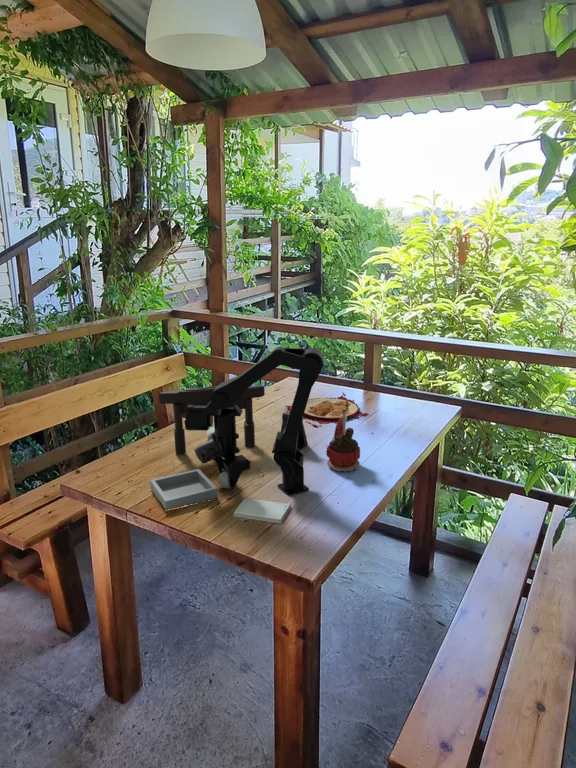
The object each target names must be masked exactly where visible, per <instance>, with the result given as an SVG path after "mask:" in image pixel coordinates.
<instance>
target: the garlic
mask: <svg viewBox="0 0 576 768" xmlns="http://www.w3.org/2000/svg"><path fill="white" fill-rule="evenodd" d="M222 470H223V469H222ZM217 480H218V484H219V485H220V487H221V488H224V489H229V490H230V489H231V488H230V484H229V479H228V474H227V472H225V471H224V472H222V473H221V474H220V473H219V475H218V478H217ZM237 483H238V482H237ZM237 483H236V485H237Z"/></svg>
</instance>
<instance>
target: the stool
mask: <svg viewBox="0 0 576 768" xmlns="http://www.w3.org/2000/svg"><path fill="white" fill-rule="evenodd" d="M217 386H218V385H216V386H203V387H192V388H191V387H190V388H186V389H177V390H168V391H163V392H162V391H161V392H159V393H158V402H159V404H162V405H164V404H165V405H171V404H172V408H173V409H172V410H173V417H174V429H173V435H174V448H175V455H177V456H184V455H186V454H187V448H186V446H187V445H186V434H185V428H184V423H183V422H184V420H183V414H185V415H186V412H187V409H186V408H187V406H188V405H195V406H207V405H208V403H209V402H210V401H211V394H212V393H213V391H214V390H215V389H216V387H217ZM264 396H265V386H264V385H251V386H250V387H248V388H247V389H246V390H245V391H244V392H243V393H242V394H241V395H240V396H239V397H238V398H237V399H236V401H235V402H234V403H233V404H232V405H231V406H230V407H229V408H233V407H234V406H235V405H237V406H238V407H239V408H240V409H242V410H244V421H243V429H244V430H243V432H244V434H243V435H244V446H245V448H247V449H254V448H255V447H256V439H255V437H256V436H255V432H256V431H255V421H254V415H253V414H254V413H253V399H256V398H263V397H264ZM219 410H222V409H219ZM205 433H206V438H207V441H208V440H211V435H212V433H215V429H214V425H212V427H209V429H208V431H205Z"/></svg>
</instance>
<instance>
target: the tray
mask: <svg viewBox="0 0 576 768" xmlns="http://www.w3.org/2000/svg"><path fill="white" fill-rule="evenodd" d="M149 484H150V490H151V489H152V490H153V492H154V493H155V495H156V496H157V498H158V499H159V501H160V502H161V504H162V505H163V507H164V508H165V509H166V510H168V509H172V508H177V507H181V506H184V505H190V504H195V503H199V504H201V503H200V502H203V501H207V502H209V501H208V500H211V501H214V500H213V499H215V500H218V499H219V497H218V496H219V495H218V493H219V491H218V487H216V485H214V483H213V482H212V481H211V480H210V478H208V477H207V476H206V474H204V473H203V472H202V470H201V469H200V468H196V469H193V470H188V471H184V472H180V473H179V472H178V473H175V474H171V475H167V476H161V477H158V478H153V479H150V480H149ZM153 492H152V493H153ZM155 495H154V496H155ZM157 498H156V499H157ZM158 499H157V500H158ZM159 501H158V502H159ZM160 502H159V503H160ZM203 503H204V502H203ZM161 504H160V505H161ZM162 505H161V506H162ZM163 507H162V508H163ZM164 508H163V509H164Z"/></svg>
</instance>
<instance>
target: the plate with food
mask: <svg viewBox="0 0 576 768" xmlns="http://www.w3.org/2000/svg"><path fill="white" fill-rule="evenodd" d="M291 407H292V405H285V408H287V409H289V410H290V411H291ZM343 409H346V416H347V420H349V419H353V418H355V419H357V420H358V419H361V418H362V417H364V418H365V417H366V418H367V416H368V417H369V416H370V414H369V413H367V412H365V413H364V412H362V411H361V407H359V406H358V404H357V403H356V402H355V400H354V399H352V400H351V399H348V398H347V397H346V394H345V393H344V392H342V395H341V396H338V397H337V398H336V397H322V398H321V397H318V398H310V399H309V398H308V402H307V405H306V409H305V412H304V415H303V420H308V421H305V422H306V423H308V424H310V425H311V426H314V427H318V428H319V427H322V425H327V424H335V423H337V422H338V420H339V417H340V415H343ZM310 421H314V423H312V422H310ZM315 422H316V423H318V424H316V423H315Z"/></svg>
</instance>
